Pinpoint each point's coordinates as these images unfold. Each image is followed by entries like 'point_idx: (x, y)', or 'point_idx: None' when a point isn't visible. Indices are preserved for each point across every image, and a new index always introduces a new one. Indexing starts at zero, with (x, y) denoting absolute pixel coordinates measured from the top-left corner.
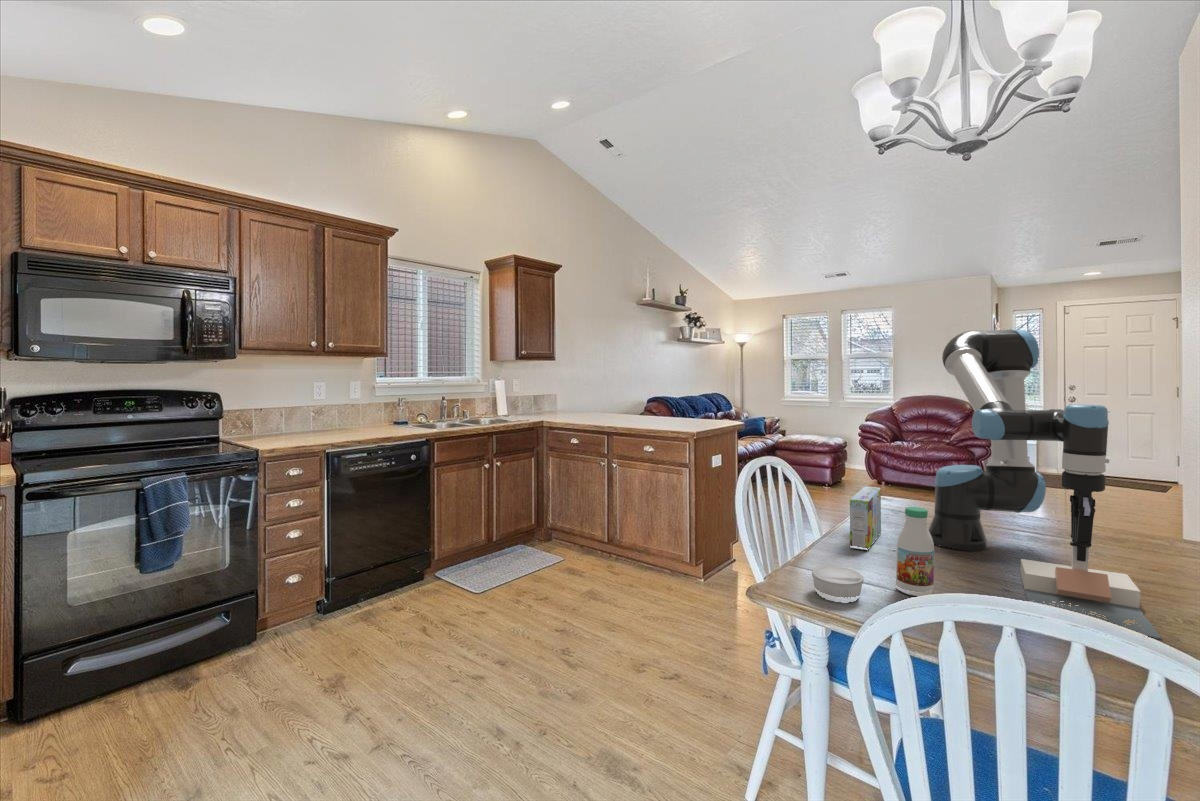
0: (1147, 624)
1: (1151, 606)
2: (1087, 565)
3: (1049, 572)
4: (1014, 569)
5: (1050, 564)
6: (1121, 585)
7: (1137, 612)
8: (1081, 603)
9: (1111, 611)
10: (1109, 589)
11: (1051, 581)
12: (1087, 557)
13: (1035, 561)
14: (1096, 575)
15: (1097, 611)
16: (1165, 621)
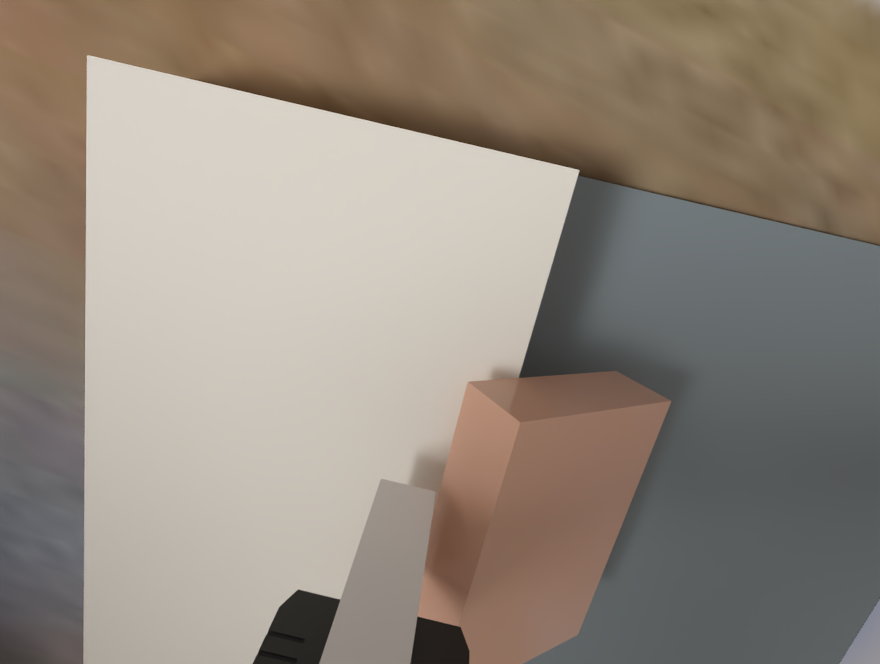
0: (857, 266)
1: (464, 52)
2: (424, 557)
3: None
4: (74, 580)
5: (119, 545)
6: (457, 256)
7: (647, 225)
8: None
9: (670, 375)
10: (624, 409)
11: None
12: (414, 631)
13: (96, 607)
14: (518, 487)
15: (687, 449)
16: (745, 102)
